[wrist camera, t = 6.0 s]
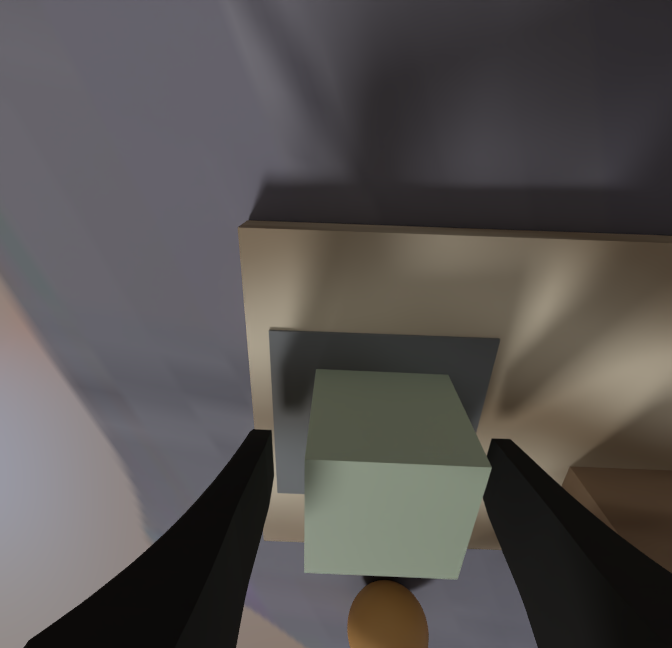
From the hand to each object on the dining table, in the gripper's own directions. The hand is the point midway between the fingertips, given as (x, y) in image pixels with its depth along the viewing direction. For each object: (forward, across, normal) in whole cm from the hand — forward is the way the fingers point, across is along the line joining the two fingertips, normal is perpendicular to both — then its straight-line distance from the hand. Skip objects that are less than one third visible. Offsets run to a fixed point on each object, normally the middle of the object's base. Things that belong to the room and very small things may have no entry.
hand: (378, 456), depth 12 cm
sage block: (+2, 0, 0) cm, 2 cm away
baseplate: (+3, -4, 0) cm, 5 cm away
